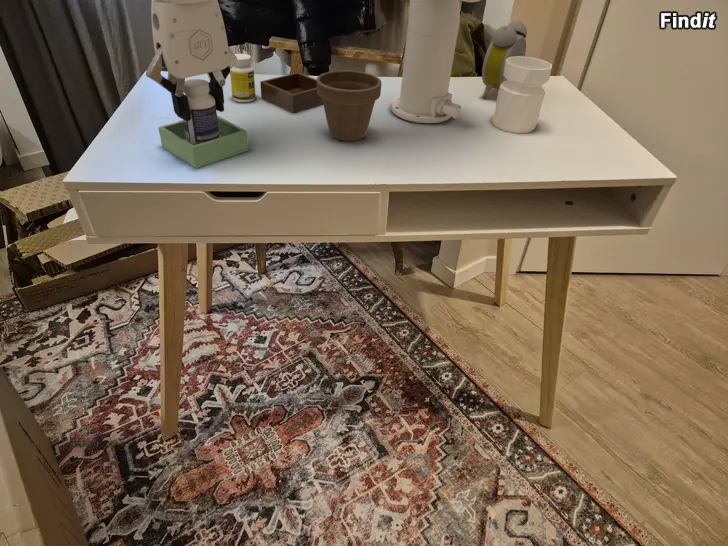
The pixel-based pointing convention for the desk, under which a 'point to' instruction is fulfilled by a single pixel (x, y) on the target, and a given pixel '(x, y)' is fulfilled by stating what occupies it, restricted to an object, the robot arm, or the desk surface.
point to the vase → (521, 94)
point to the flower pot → (348, 101)
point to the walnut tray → (291, 92)
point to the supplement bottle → (243, 79)
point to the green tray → (207, 152)
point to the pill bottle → (200, 113)
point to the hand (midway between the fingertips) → (200, 112)
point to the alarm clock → (502, 53)
